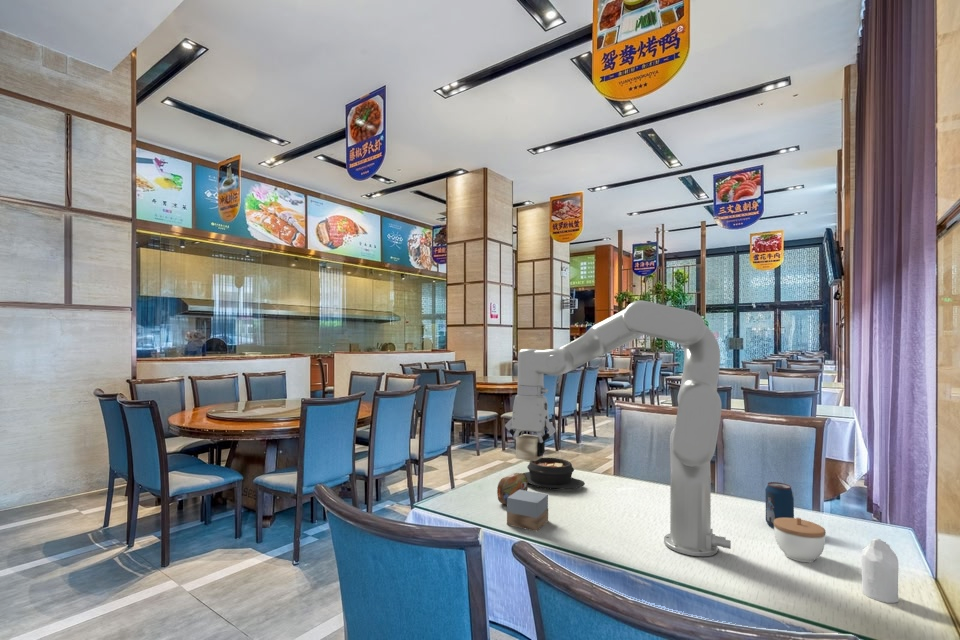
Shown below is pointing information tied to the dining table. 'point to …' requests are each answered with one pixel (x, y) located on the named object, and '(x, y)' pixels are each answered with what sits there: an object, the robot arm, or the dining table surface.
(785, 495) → the soda can
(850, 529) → the dining table surface
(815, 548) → the lidded jar
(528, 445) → the maple cube
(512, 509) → the slate block
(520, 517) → the walnut block
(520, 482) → the tin
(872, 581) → the white plastic bottle
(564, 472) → the casserole
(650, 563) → the dining table surface
